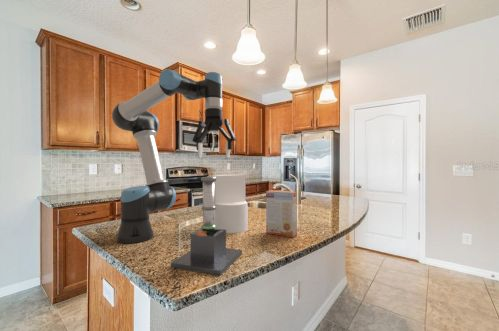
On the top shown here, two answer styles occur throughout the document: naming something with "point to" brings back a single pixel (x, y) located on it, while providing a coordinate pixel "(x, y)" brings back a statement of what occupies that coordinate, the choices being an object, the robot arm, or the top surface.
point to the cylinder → (231, 203)
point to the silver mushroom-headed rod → (208, 205)
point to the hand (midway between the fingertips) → (213, 157)
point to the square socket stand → (208, 253)
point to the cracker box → (281, 213)
